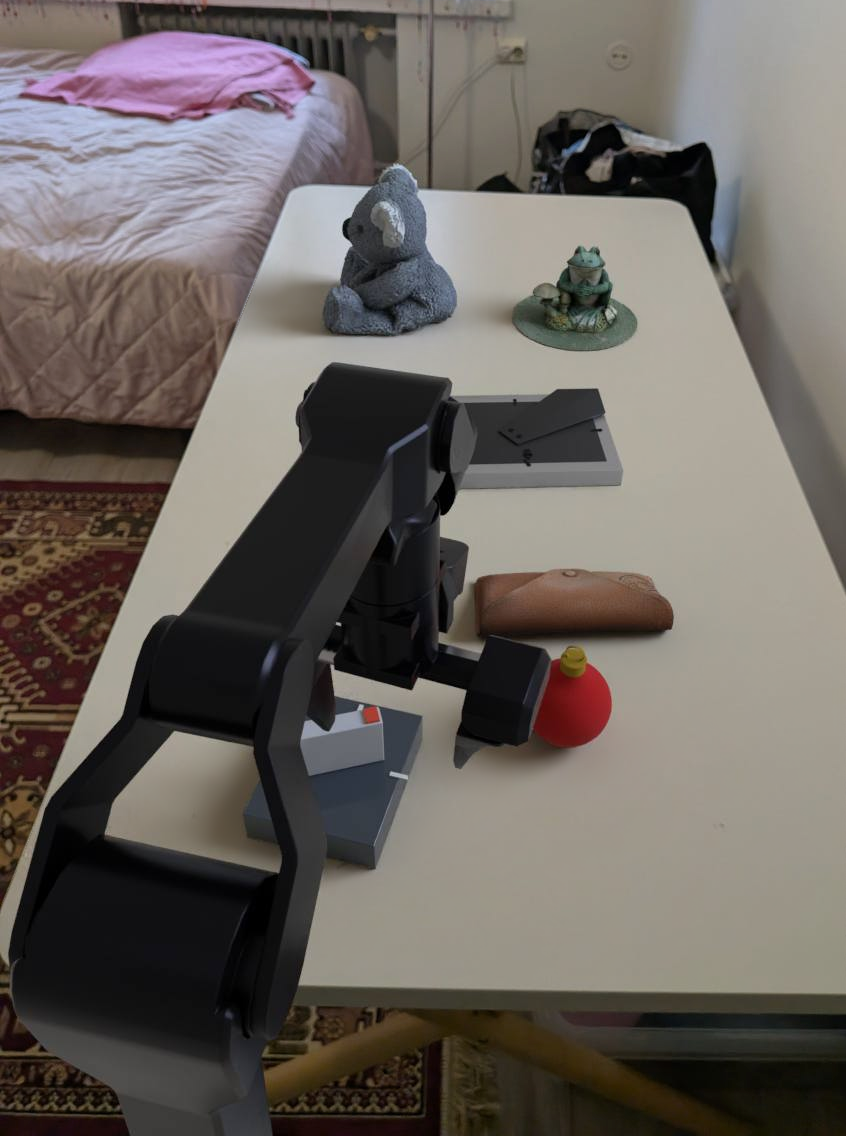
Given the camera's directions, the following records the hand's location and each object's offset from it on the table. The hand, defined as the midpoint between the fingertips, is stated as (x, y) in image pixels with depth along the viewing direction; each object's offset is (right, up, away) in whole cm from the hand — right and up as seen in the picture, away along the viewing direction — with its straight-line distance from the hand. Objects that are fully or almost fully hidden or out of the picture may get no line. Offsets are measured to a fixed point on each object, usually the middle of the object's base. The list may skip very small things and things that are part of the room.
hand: (393, 744), depth 63 cm
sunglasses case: (+14, +5, +28) cm, 31 cm away
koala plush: (-7, +42, +73) cm, 85 cm away
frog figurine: (+19, +41, +74) cm, 87 cm away
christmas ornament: (+13, -3, +17) cm, 21 cm away
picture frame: (+10, +22, +48) cm, 54 cm away
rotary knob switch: (-5, -6, +11) cm, 14 cm away
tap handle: (-5, -4, +9) cm, 11 cm away
